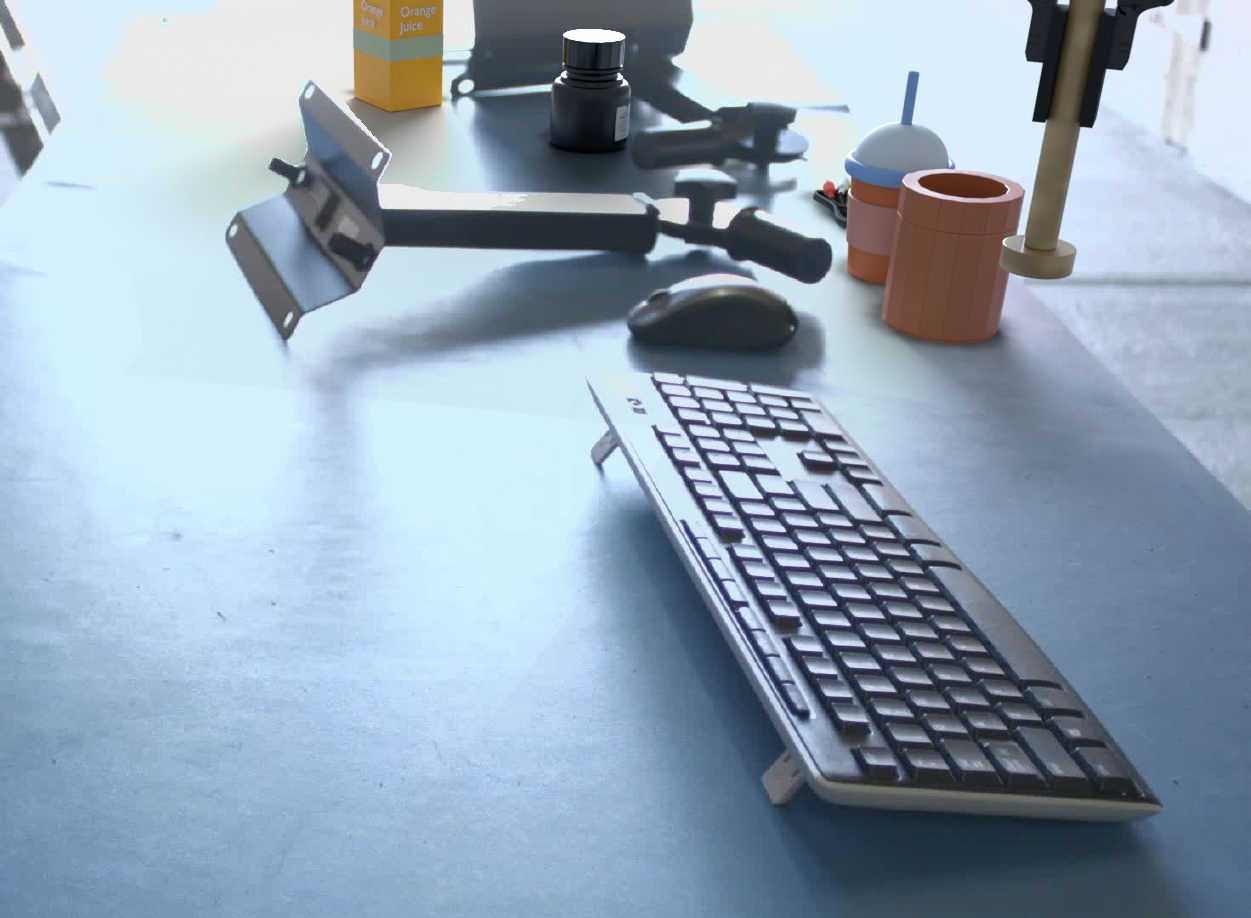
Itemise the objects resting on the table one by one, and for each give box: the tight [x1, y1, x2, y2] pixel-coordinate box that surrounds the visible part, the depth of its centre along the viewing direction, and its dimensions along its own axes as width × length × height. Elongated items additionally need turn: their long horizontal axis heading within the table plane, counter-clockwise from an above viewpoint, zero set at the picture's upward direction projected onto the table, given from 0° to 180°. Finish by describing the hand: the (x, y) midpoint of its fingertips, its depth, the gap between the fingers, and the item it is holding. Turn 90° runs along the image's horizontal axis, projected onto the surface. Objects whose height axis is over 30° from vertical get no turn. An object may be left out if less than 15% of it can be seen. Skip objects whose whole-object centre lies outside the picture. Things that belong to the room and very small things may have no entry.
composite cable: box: [811, 176, 851, 228], centre depth 150 cm, size 10×5×2 cm, turn 168°
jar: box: [880, 168, 1026, 345], centre depth 121 cm, size 9×9×12 cm
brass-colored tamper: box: [999, 0, 1107, 281], centre depth 92 cm, size 4×4×18 cm
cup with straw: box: [844, 70, 956, 285], centre depth 130 cm, size 9×9×18 cm
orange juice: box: [352, 0, 444, 113], centre depth 184 cm, size 8×9×20 cm
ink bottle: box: [548, 29, 632, 152], centre depth 170 cm, size 10×9×12 cm
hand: (1064, 119), depth 92 cm, fingers closed on brass-colored tamper, 2 cm apart
